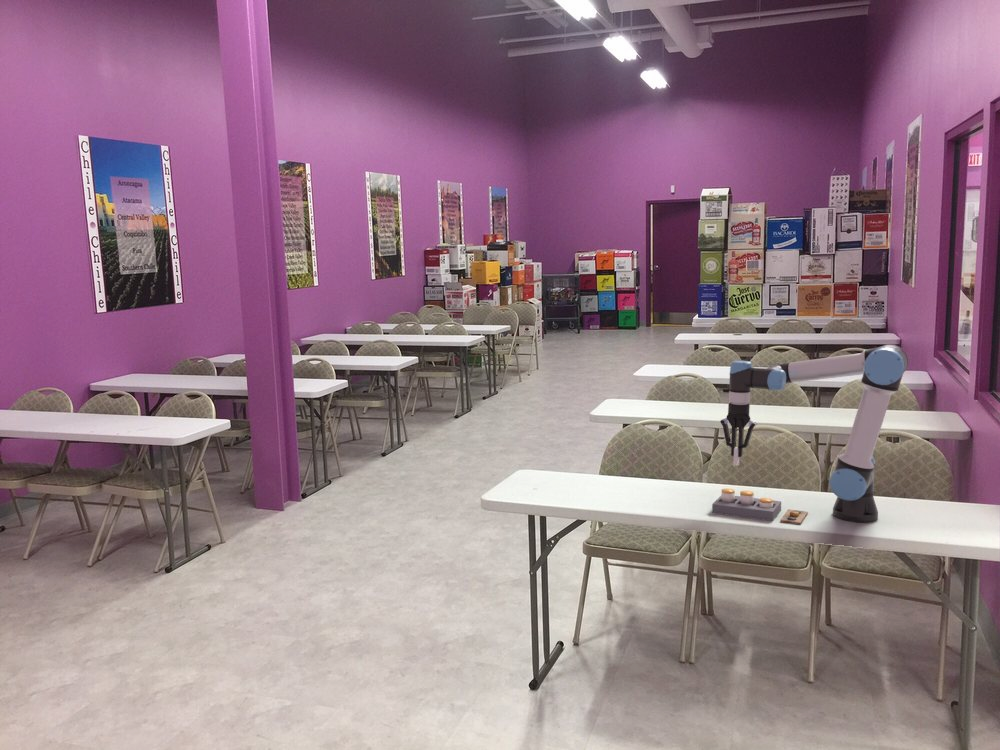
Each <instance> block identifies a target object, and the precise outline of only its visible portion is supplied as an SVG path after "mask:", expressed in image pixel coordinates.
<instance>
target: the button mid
mask: <svg viewBox="0 0 1000 750" xmlns="http://www.w3.org/2000/svg"><path fill="white" fill-rule="evenodd" d="M739 494H740V495H739V496H740V504H742V505H750V506H752V505H754V498H755V497H754V495H755V493H754V491H751V490H741V491H740V492H739Z"/></svg>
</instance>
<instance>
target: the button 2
mask: <svg viewBox="0 0 1000 750" xmlns="http://www.w3.org/2000/svg"><path fill="white" fill-rule="evenodd" d="M758 499H759V507H766V508H773V500H774V499H772V498H769V497H760V498H758Z"/></svg>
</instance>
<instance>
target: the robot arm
mask: <svg viewBox="0 0 1000 750" xmlns="http://www.w3.org/2000/svg"><path fill="white" fill-rule="evenodd" d="M908 366H909V357H908V355H907V353H906V351H905V350H904V349H903V348H901V347H900V346H898V345H895V344H884V345H881V346H878V347H877V346H876V347H874V348H868V349H864V350H863V351H862V352H860V353H852V354H845V355H837V356H829V357H823V358H816V359H808V360H800V361H793V362H784V363H780V362H778V363H773V364H772V365H770V366H769V367H767V368H766V367H765V368H762V367H753V365H752V361H749V360H733V361H732V362H731V363H730V368H729V369H730V370H729V385H728V386H729V389H728V404H727V405H728V408H727V415H726V417H725V418H722V419H720V424H721V426H722V429H723V434H724V439H725V443H726V446H728V447H730V448H731V451H730V455H731V457H733V462H732V464H733V466H736V467H737V466H739V465H740V458H741V457H743V449H744V448H747V447H748V446H749V443H750V440H751V437H752V434H753V430H754V428H755V427H756V426H757V422H754V421H753V420H751V417H750V409H751V407H750V402H751V389H759V390H768V391H783V390H784V389H785V387H786V385H787V384H792V383H800V382H809V381H817V380H827V379H833V378H834V379H835V378H842V377H843V378H844V377H852V376H860V375H862V378H861V381H860V383H861V384H862V386H863V390H862V391H863V392H862V395H861V398H860V401H859V404H858V408H857V411H856V414H855V417H854V421H853V424H852V427H851V431H850V434H849V437H848V441H847V443H846V447H845V451H844V453H841V454H839V455H838V457H837V461H836V463H835V467H834V470H833V472H832V473H831V475H830V478H829V486H830V489H831V491H832V493H833V494H834V495H835V496H836V499H835V502H834V505H833V507H832V516H834V517H835V518H837V519H839V520H842V521H847V522H853V523H854V522H855V523H871V522H875V521H877V520H878V519H879V511H878V507H877V505H876V502H875V498H874V497H875V496H874V492H875V488H874V487H875V486H874V485H875V466H876V462H875V458H874V456H873V455H874V451H875V448H876V444H877V441H878V438H879V435H880V431H881V428H882V426H883V422H884V419H885V417H886V413H887V409H888V407H889V404H890V401H891V400H890V399H891V397H892V396H893V394H895V393H897V392H898V391H899V388H900V385H901V381H902V379H903V376H904V373H905V372H906V371H907V368H908ZM728 423H729V425H730V426H731V433H730V430H729V425H728ZM747 424H748V430H747V432H746V436H745V439H744V433H745V431H744V430H745V427H746V426H747ZM737 433H738V434H737ZM737 435H738V440H737ZM737 441H738V443H737Z"/></svg>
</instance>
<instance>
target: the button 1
mask: <svg viewBox="0 0 1000 750" xmlns="http://www.w3.org/2000/svg"><path fill="white" fill-rule="evenodd" d="M735 492H736V490H735V489H733V488H722V489H721V494H720V496H721V502H727V503H734V502H735V496H736V495H735V494H736V493H735Z"/></svg>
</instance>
